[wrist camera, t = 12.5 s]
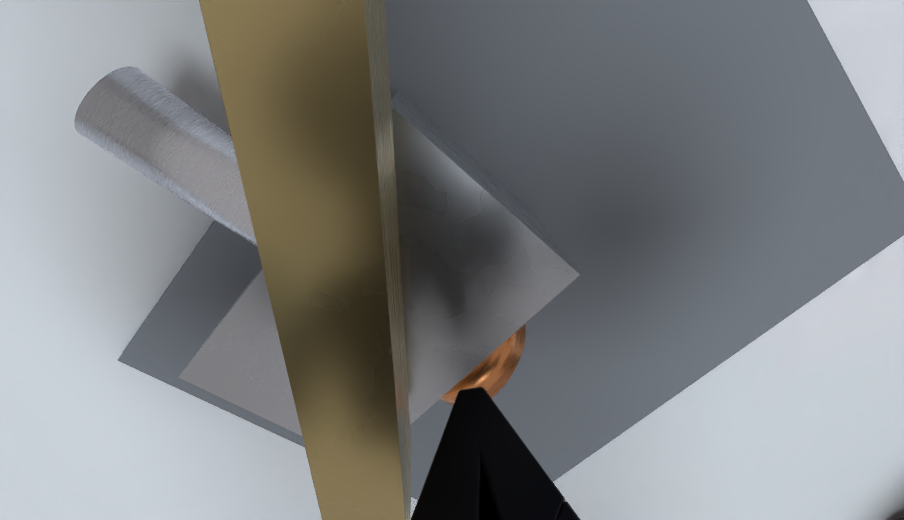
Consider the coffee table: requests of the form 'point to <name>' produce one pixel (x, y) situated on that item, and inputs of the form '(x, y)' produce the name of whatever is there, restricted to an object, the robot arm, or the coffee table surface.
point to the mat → (617, 196)
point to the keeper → (326, 230)
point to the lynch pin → (210, 174)
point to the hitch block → (413, 280)
